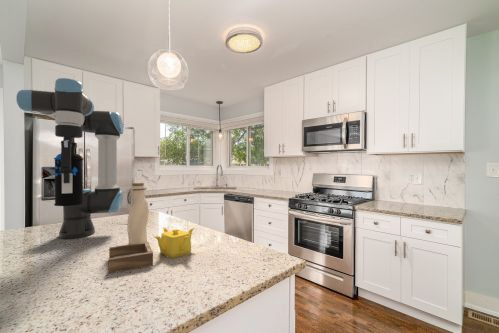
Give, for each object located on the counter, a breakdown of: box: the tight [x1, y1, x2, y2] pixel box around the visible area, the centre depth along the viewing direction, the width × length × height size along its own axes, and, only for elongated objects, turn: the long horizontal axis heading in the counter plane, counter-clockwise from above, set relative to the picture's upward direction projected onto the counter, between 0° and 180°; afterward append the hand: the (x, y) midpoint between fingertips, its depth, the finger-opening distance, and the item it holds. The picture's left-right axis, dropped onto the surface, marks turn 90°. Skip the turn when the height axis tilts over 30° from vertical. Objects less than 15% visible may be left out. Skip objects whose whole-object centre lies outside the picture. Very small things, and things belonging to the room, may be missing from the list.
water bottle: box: [126, 182, 150, 245], centre depth 112 cm, size 10×9×28 cm
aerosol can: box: [53, 153, 84, 207], centre depth 83 cm, size 8×8×20 cm
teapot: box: [153, 227, 196, 259], centre depth 101 cm, size 15×14×10 cm
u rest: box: [108, 241, 154, 274], centre depth 91 cm, size 14×14×4 cm
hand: (69, 191), depth 84 cm, fingers closed on aerosol can, 8 cm apart
